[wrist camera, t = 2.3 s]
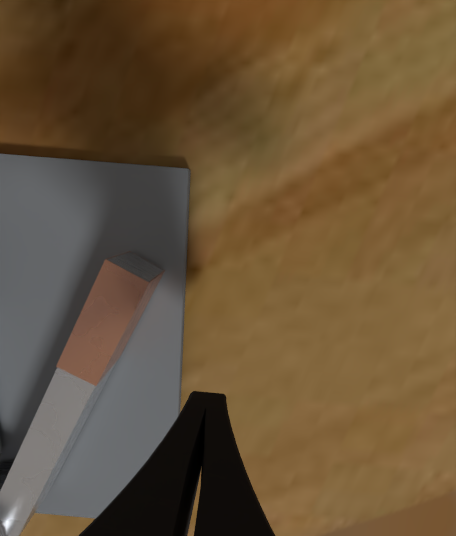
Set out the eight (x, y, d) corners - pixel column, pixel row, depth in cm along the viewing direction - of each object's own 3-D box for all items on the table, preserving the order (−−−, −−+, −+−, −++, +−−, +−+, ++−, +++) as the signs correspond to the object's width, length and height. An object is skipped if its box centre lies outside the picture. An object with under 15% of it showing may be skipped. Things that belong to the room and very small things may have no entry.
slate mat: (175, 515, 18) (173, 525, 17) (-25, 496, 18) (-34, 506, 17) (190, 170, 13) (188, 168, 12) (-91, 148, 13) (-107, 145, 12)
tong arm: (38, 514, 17) (-5, 578, 14) (-20, 489, 16) (-76, 549, 13) (165, 270, 13) (144, 286, 10) (93, 230, 12) (48, 235, 10)
